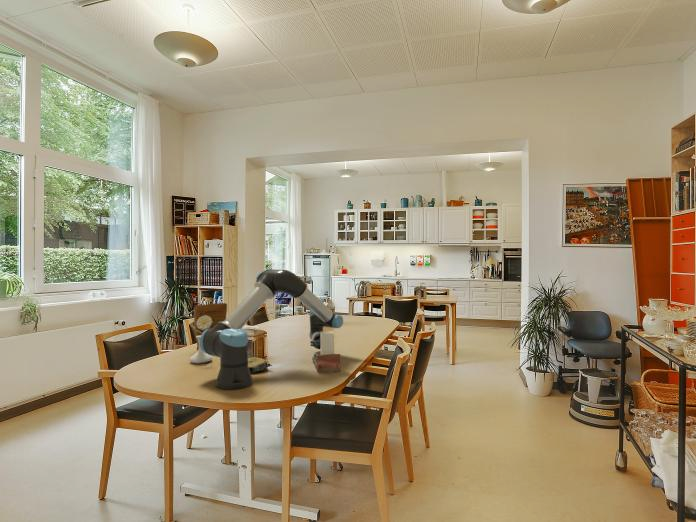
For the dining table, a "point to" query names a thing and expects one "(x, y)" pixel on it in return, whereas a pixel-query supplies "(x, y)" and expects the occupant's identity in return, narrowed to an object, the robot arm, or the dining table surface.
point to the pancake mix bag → (213, 311)
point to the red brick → (327, 362)
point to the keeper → (326, 342)
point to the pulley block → (257, 364)
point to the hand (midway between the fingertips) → (327, 349)
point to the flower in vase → (199, 355)
